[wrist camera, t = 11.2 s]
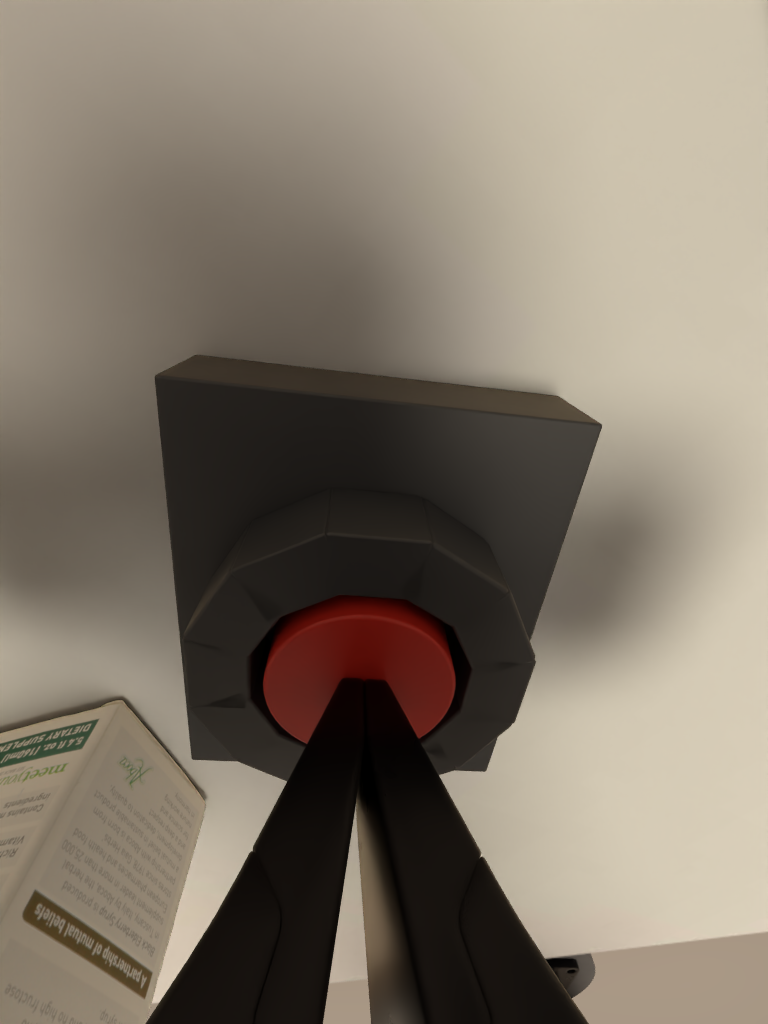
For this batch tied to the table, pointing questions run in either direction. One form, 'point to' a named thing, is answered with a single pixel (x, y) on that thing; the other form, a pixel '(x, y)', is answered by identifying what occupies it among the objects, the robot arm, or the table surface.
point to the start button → (358, 660)
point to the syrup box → (89, 866)
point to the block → (359, 532)
